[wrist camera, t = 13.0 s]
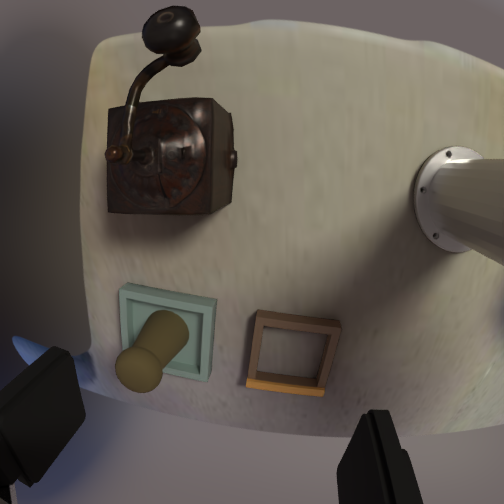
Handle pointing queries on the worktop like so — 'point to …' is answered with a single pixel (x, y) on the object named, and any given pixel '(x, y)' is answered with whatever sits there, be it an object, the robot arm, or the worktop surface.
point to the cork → (152, 351)
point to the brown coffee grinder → (169, 135)
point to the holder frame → (285, 381)
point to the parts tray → (189, 309)
